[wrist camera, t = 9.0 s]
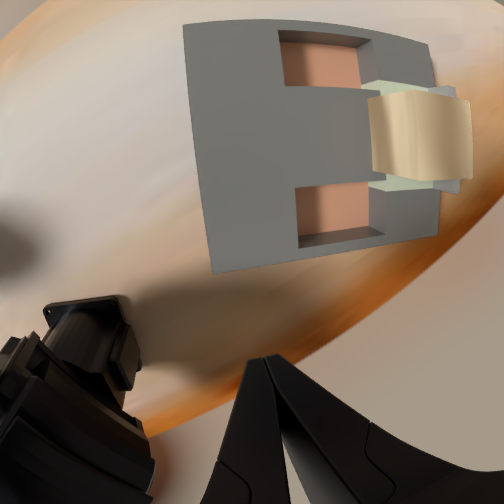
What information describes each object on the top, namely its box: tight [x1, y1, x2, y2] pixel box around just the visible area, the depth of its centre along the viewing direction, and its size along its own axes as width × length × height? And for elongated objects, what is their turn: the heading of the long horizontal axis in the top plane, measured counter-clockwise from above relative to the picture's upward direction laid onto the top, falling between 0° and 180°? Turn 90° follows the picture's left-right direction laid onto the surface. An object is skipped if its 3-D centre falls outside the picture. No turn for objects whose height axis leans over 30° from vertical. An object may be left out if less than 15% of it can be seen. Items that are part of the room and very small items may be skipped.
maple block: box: [367, 90, 473, 181], centre depth 14 cm, size 4×4×4 cm
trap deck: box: [183, 19, 460, 274], centre depth 15 cm, size 16×14×4 cm
